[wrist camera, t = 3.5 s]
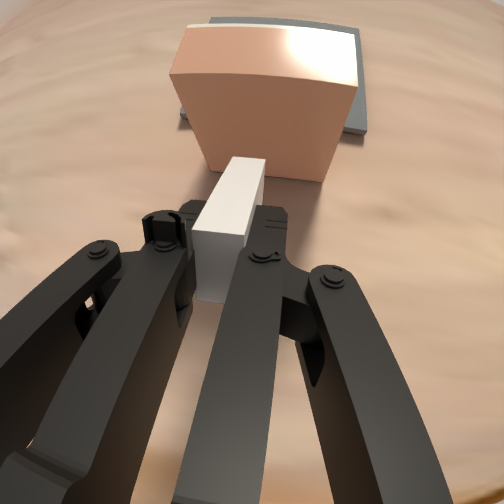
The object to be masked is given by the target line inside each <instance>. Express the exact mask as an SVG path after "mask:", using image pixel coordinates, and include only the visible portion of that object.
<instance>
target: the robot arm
mask: <svg viewBox="0 0 504 504" xmlns="http://www.w3.org/2000/svg"><path fill="white" fill-rule="evenodd" d="M265 161H266V159H257V158H245V157H232V159H231V161H230V162H229V164H228V166H227V168H226V169H225V171H224V173H223V174H222V176H221V178H220V180H219V181H218V183H217V185H216V187H215V188H214V190H213V192H212V194H211V195H210V197H209V199H208V201H201V200H190V201H188V202H187V203H185V204H183V205H182V206H181V208H180V209H179V211H173V210H161V211H156V212H152V213H150V214H148V215H146V216H145V217H144V218H143V219H142V223H143V230H144V237H145V244H144V246H143V247H142V249H141V250H140V251H133V252H122V253H120V250H119V247H118V245H117V243H115V242H113V241H110V240H97V241H95V242H92V243H90V244H88V245H86V246H85V247H83V248H82V249H81V250H80V251H78V252H77V253H76V254H75V255H73V256H72V257H71V258H70V259H68V260H67V261H66V262H65V263H64V264H62V265H61V266H60V267H59V268H58V269H56V270H55V271H54V272H53V273H52V274H50V275H49V276H48V277H47V278H46V279H45V280H43V281H42V282H41V283H40V284H39V285H38V286H37V287H35V288H34V289H33V290H32V291H31V292H30V293H29V294H28V295H26V296H25V297H24V298H23V299H22V300H21V301H20V302H19V303H18V304H17V305H15V306H14V307H13V308H12V309H11V310H10V311H9V312H8V313H7V314H6V315H5V316H4V317H3V318H2V319H1V320H0V504H130V500H131V496H132V493H133V490H134V486H135V483H136V480H137V476H138V473H139V470H140V466H141V463H142V460H143V457H144V453H145V450H146V447H147V444H148V441H149V438H150V435H151V431H152V428H153V425H154V422H155V419H156V416H157V413H158V410H159V407H160V404H161V401H162V398H163V395H164V392H165V389H166V386H167V383H168V380H169V377H170V374H171V371H172V368H173V365H174V362H175V359H176V357H177V354H178V351H179V348H180V345H181V342H182V339H183V337H184V334H185V331H186V328H187V325H188V322H189V320H190V317H191V314H192V310H193V303H192V297H193V295H194V292H195V289H196V298H197V300H199V301H206V302H213V303H220V304H225V305H224V308H223V312H222V315H221V319H220V323H219V326H218V330H217V334H216V337H215V341H214V344H213V348H212V352H211V355H210V359H209V363H208V367H207V370H206V374H205V378H204V381H203V385H202V389H201V393H200V396H199V400H198V404H197V407H196V411H195V415H194V419H193V423H192V426H191V430H190V434H189V438H188V442H187V445H186V449H185V453H184V457H183V461H182V465H181V468H180V472H179V476H178V480H177V484H176V488H175V492H174V495H173V499H172V502H171V504H259V500H260V493H261V486H262V478H263V471H264V463H265V456H266V448H267V440H268V432H269V423H270V415H271V406H272V397H273V388H274V379H275V369H276V360H277V350H278V339H279V334H280V335H283V336H285V337H288V338H290V339H293V340H295V346H296V350H297V353H298V357H299V361H300V365H301V369H302V373H303V377H304V381H305V385H306V389H307V393H308V397H309V401H310V405H311V409H312V413H313V417H314V421H315V425H316V429H317V433H318V437H319V441H320V445H321V449H322V454H323V458H324V462H325V466H326V470H327V475H328V479H329V483H330V487H331V491H332V496H333V500H334V504H453V501H452V498H451V495H450V492H449V489H448V486H447V483H446V480H445V477H444V475H443V472H442V469H441V466H440V464H439V461H438V458H437V456H436V453H435V450H434V448H433V445H432V443H431V440H430V438H429V435H428V433H427V430H426V428H425V425H424V423H423V420H422V418H421V415H420V413H419V411H418V408H417V406H416V404H415V401H414V399H413V397H412V394H411V392H410V390H409V387H408V385H407V383H406V381H405V378H404V376H403V374H402V372H401V370H400V367H399V365H398V363H397V361H396V359H395V357H394V355H393V352H392V350H391V348H390V346H389V344H388V342H387V340H386V338H385V336H384V334H383V332H382V330H381V328H380V326H379V324H378V322H377V319H376V317H375V316H374V314H373V312H372V310H371V308H370V306H369V304H368V302H367V300H366V298H365V296H364V294H363V292H362V290H361V288H360V286H359V284H358V283H357V281H356V279H355V277H354V276H353V275H352V274H351V273H350V272H349V271H347V270H346V269H344V268H341V267H338V266H335V265H321V266H317V267H315V268H314V269H312V270H311V272H310V273H309V272H306V271H303V270H301V269H298V268H296V267H295V266H293V265H292V264H291V263H290V262H289V261H288V260H287V258H286V256H285V246H286V231H287V217H288V214H287V213H286V212H285V210H284V209H283V208H282V207H273V206H264V205H262V202H263V188H264V175H265ZM90 296H91V298H92V301H93V304H92V305H91V306H90V307H88V308H87V307H86V305H85V301H86V300H87V299H88V298H89V297H90ZM33 438H34V439H33ZM32 439H33V441H32ZM31 441H32V443H31V445H30V446H29V447H28V448H26V447H27V446H28V445H29V443H30V442H31Z"/></svg>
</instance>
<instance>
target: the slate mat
mask: <svg viewBox="0 0 504 504" xmlns="http://www.w3.org/2000/svg"><path fill="white" fill-rule="evenodd" d="M225 23H237V24H268V25H283V26H295V27H305V28H313V29H321V30H328V31H335V32H341V33H347V34H353V35H354V41H355V51H356V63H357V76H358V89H357V92H356V95H355V97H354V100H353V103H352V106H351V109H350V111H349V114H348V117H347V120H346V123H345V125H344V128H343V132H349V133H355V134H361V135H365V134H366V132H367V113H366V96H365V83H364V71H363V60H362V51H361V42H360V34H359V29H357V28H351V27H346V26H340V25H333V24H327V23H319V22H311V21H302V20H292V19H279V18H261V17H211V19H210V22H209V24H225ZM180 115H181V117H182V118H187V115H186V113H185V111H184V108H183V106H182V107H181V111H180Z"/></svg>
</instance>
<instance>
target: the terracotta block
mask: <svg viewBox="0 0 504 504" xmlns="http://www.w3.org/2000/svg"><path fill="white" fill-rule="evenodd" d="M169 76H170V78H171V80H172V83H173V85H174V87H175V90H176V92H177V94H178V97H179V99H180V101H181V104H182V106H183V108H184V111H185V113H186V115H187V118H188V120H189V122H190V125H191V127H192V129H193V132H194V134H195V136H196V139H197V141H198V143H199V146H200V148H201V150H202V153H203V155H204V157H205V160H206V162H207V164H208V167H209V169H210V171H218V172H224V171H225V169H226V168H227V166H228V164H229V162H230V161H231V159H232V157H245V158H257V159H266V161H265V175H264V176H273V177H283V178H291V179H300V180H308V181H316V182H324V179H325V176H326V174H327V171H328V169H329V166H330V163H331V161H332V158H333V155H334V153H335V150H336V147H337V145H338V142H339V139H340V136H341V134H342V131H343V128H344V125H345V123H346V120H347V117H348V114H349V111H350V109H351V106H352V103H353V100H354V97H355V95H356V92H357V89H358V76H357V63H356V51H355V41H354V35H353V34H347V33H341V32H335V31H328V30H321V29H313V28H305V27H295V26H283V25H268V24H237V23H225V24H194V25H188V26H187V29H186V31H185V34H184V36H183V38H182V41H181V43H180V46H179V48H178V51H177V53H176V56H175V59H174V61H173V64H172V67H171V69H170V72H169Z"/></svg>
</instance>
